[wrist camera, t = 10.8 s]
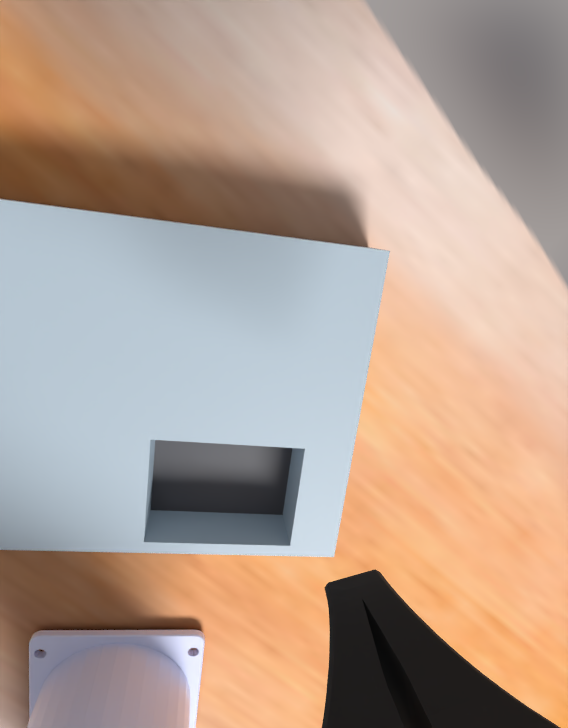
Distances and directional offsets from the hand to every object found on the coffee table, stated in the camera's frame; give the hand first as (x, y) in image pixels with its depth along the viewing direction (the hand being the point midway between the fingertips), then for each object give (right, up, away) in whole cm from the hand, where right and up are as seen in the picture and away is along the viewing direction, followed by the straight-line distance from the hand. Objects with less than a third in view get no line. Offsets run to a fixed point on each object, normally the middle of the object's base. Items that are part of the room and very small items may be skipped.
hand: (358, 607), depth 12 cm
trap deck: (-12, +6, +8) cm, 15 cm away
